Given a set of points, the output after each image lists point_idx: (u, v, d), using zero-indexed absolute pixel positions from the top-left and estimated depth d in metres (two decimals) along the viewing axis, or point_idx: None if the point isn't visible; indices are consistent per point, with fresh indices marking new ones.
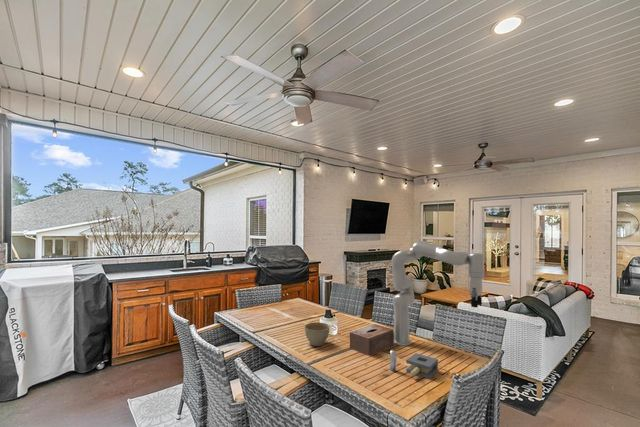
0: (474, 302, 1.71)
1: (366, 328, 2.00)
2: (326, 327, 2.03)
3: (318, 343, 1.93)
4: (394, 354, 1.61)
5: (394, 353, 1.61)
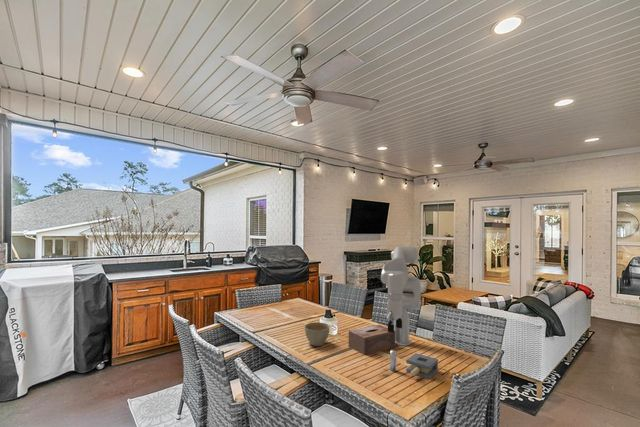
0: (390, 327, 1.58)
1: (367, 328, 2.00)
2: (326, 327, 2.03)
3: (318, 343, 1.93)
4: (394, 354, 1.61)
5: (394, 353, 1.61)
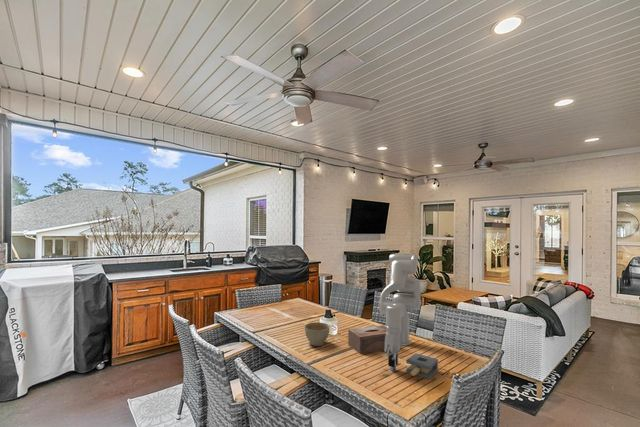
0: (391, 362, 1.60)
1: (369, 328, 2.00)
2: (326, 327, 2.03)
3: (318, 343, 1.93)
4: (394, 354, 1.61)
5: (394, 353, 1.61)
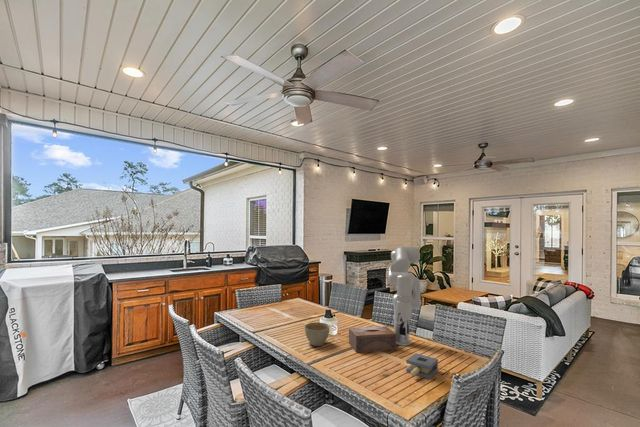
0: (402, 330, 1.61)
1: (370, 328, 2.00)
2: (326, 327, 2.03)
3: (318, 343, 1.93)
4: (405, 322, 1.62)
5: (405, 321, 1.62)
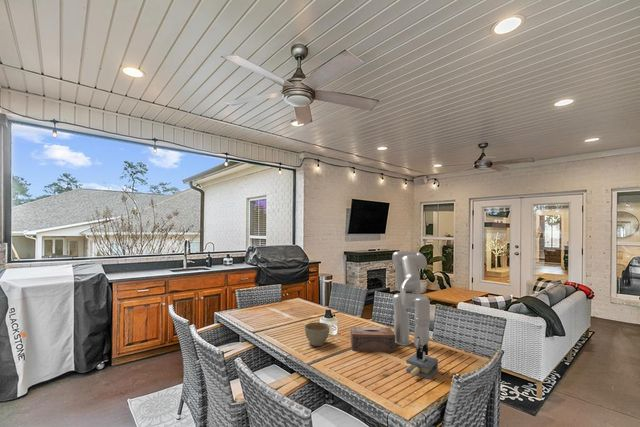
0: (419, 354, 1.58)
1: (372, 328, 2.00)
2: (326, 327, 2.03)
3: (318, 343, 1.93)
4: (423, 355, 1.60)
5: (423, 354, 1.61)
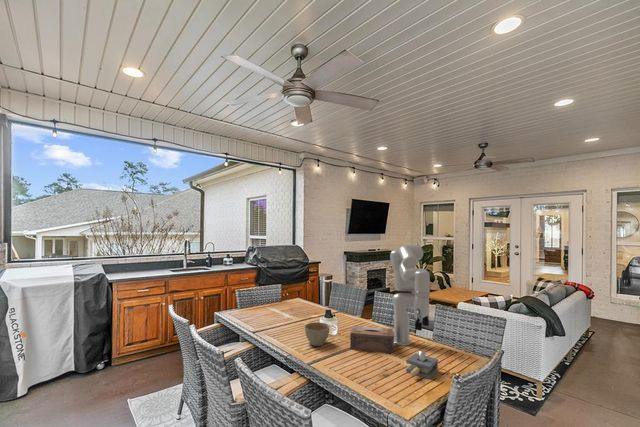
0: (418, 325, 1.58)
1: (373, 328, 2.00)
2: (326, 327, 2.03)
3: (318, 343, 1.93)
4: (423, 355, 1.60)
5: (423, 354, 1.61)
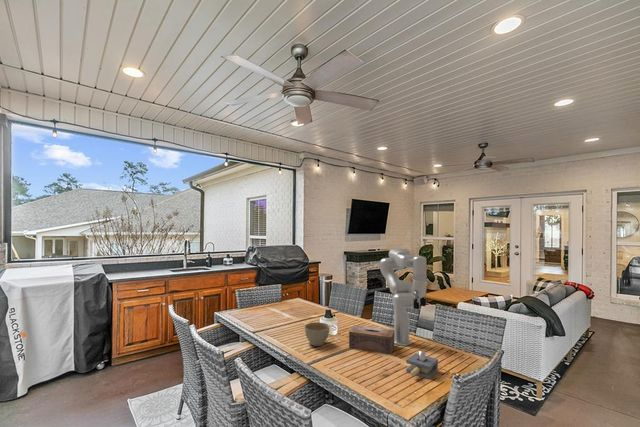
0: (416, 304, 1.76)
1: (375, 328, 2.00)
2: (326, 327, 2.03)
3: (318, 343, 1.93)
4: (423, 355, 1.60)
5: (423, 354, 1.61)
